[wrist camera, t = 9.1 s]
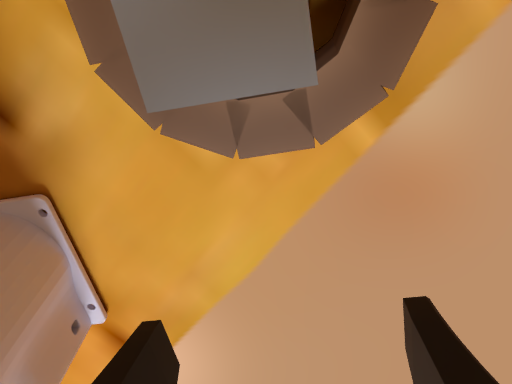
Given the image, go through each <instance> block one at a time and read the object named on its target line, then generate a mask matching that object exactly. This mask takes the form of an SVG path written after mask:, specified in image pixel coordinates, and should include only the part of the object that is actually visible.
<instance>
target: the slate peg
mask: <svg viewBox="0 0 512 384" xmlns="http://www.w3.org/2000/svg"><path fill="white" fill-rule="evenodd" d="M111 3H112V6H113V9H114V12H115V15H116V19H117V22H118V25H119V28H120V31H121V34H122V37H123V40H124V43H125V46H126V49H127V52H128V55H129V58H130V61H131V64H132V67H133V70H134V74H135V77H136V80H137V83H138V86H139V89H140V92H141V95H142V98H143V101H144V104H145V107H146V110H147V113H152V112H158V111H164V110H170V109H177V108H183V107H189V106H195V105H201V104H207V103H213V102H219V101H225V100H231V99H237V98H243V97H249V96H255V95H261V94H267V93H273V92H279V91H285V90H291V89H297V88H303V87H309V86H315V85H318V78H317V70H316V62H315V54H314V46H313V38H312V30H311V22H310V14H309V6H308V0H111Z"/></svg>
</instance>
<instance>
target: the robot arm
mask: <svg viewBox="0 0 512 384" xmlns="http://www.w3.org/2000/svg"><path fill="white" fill-rule="evenodd" d="M42 209H43V210H45V211H46V212H47V213H45V212H43V211H42ZM92 304H93V305H92ZM403 308H404V309H403V310H404V330H405V349H406V353H407V358H408V362H409V367H410V371H411V375H412V379H413V384H499V383H498V382H497V381H496V380H495V379H494V378H493V377H492V376H491V375H490V373H489V372H488V371H487V370H486V369H485V368H484V367H483V366H482V365H481V364H480V363H479V361H478V360H477V359H476V358H475V357H474V356H473V355H472V353H471V352H470V351H469V350H468V349H467V348H466V346H465V345H464V344H463V343H462V342H461V341H460V339H459V338H458V337H457V336H456V334H455V333H454V332H453V330H452V329H451V328H450V327H449V325H448V324H447V323H446V321H445V320H444V319H443V317H442V316H441V315H440V314H439V312H438V310H437V309H436V308H435V306H434V305H433V303H432V302H431V300H430V299H429V298H427V297H426V296H423V297H411V298H403ZM106 318H107V313H106V311H105V309H104V307H103V305H102V303H101V301H100V299H99V297H98V295H97V293H96V291H95V289H94V287H93V285H92V283H91V281H90V279H89V277H88V275H87V273H86V271H85V269H84V267H83V265H82V263H81V261H80V259H79V257H78V255H77V253H76V251H75V249H74V247H73V245H72V243H71V241H70V239H69V237H68V235H67V233H66V231H65V229H64V227H63V225H62V224H61V222H60V220H59V218H58V216H57V214H56V212H55V210H54V208H53V206H52V204H51V202H50V200H49V199H48V198H47V197H46V196H44V195H42V194H37V195H30V196H23V197H17V198H10V199H3V200H0V384H60V383H61V381H62V379H63V377H64V375H65V373H66V372H67V370H68V368H69V366H70V364H71V362H72V360H73V358H74V357H75V355H76V353H77V351H78V349H79V347H80V345H81V344H82V342H83V340H84V338H85V336H86V334H87V332H88V331H89V329H90V327H91V325H92V324H101V323H104V322H105V320H106ZM179 366H180V364H179V362H178V359H177V357H176V355H175V353H174V350H173V348H172V345H171V343H170V341H169V338H168V336H167V333H166V331H165V329H164V326H163V324H162V322H161V320H156V321H145V322H142V323H141V324H140V325H139V326H138V328H137V329H136V330H135V331H134V332H133V334H132V335H131V336H130V337H129V339H128V340H127V341H126V342H125V344H124V345H123V346H122V347H121V349H120V350H119V351H118V352H117V354H116V355H115V356H114V357H113V359H112V360H111V361H110V362H109V363H108V365H107V366H106V367H105V368H104V369H103V371H102V372H101V373H100V374H99V375H98V377H97V378H96V379H95V380H94V381H93V383H92V384H177V381H178V373H179Z"/></svg>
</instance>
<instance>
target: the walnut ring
mask: <svg viewBox="0 0 512 384" xmlns="http://www.w3.org/2000/svg"><path fill="white" fill-rule="evenodd" d="M65 1H66V4H67V6H68V9H69V12H70V14H71V17H72V19H73V22H74V25H75V27H76V30H77V33H78V35H79V38H80V40H81V43H82V46H83V48H84V51H85V53H86V56H87V59H88V61H89V64H90V65H92V64H97V63H101V65H100V66H99V67H98V68H97V69H96V70H95V71H94V72H95V73H96V74H97V75H98V76H99V77H100V78H101V79H102V80H103V81H104V82H105V83H106V84H108V85H109V86H110V87H111V88H112V89H113V90H114V91H115V92H116V93H117V94H118V95H119V96H120V97H121V98H122V99H123V100H124V101H125V102H126V103H127V104H128V105H129V106H130V107H131V108H132V109H133V110H134V111H135V112H136V113H137V114H138V115H139V116H140V117H141V118H142V119H143V120H144V121H145V122H146V123H147V124H148V125H149V126H150V127H151V128H152V129H153V130H155V129H157V128H158V127H159V126H160V125H161V124H162V123H163V124H162V129H161V133H160V134H162V135H165V136H168V137H171V138H174V139H176V140H179V141H182V142H185V143H188V144H191V145H194V146H197V147H200V148H203V149H206V150H209V151H212V152H215V153H218V154H221V155H224V156H227V157H230V158H233V157H234V154H235V152H236V149H237V151H238V155H239V159H244V158H250V157H257V156H263V155H270V154H277V153H283V152H290V151H296V150H303V149H310V148H315V143H314V137H315V139H316V140H317V141H318V142H319V143H320V144H321V145H322V144H323V143H325V142H326V141H328V140H329V139H330V138H332V137H333V136H334V135H336V134H337V133H339V132H340V131H341V130H343V129H344V128H345V127H347V126H348V125H350V124H351V123H352V122H354V121H355V120H356V119H358V118H359V117H360V116H362V115H363V114H365V113H366V112H367V111H369V110H370V109H371V108H373V107H374V106H376V105H377V104H378V103H380V102H381V101H382V100H384V99H385V98H387V97H388V94H387V93H386V91H385V89H384V88H383V86H384V87H386V88H389V89H392V90H394V88H395V87H396V85H397V83H398V81H399V79H400V77H401V75H402V73H403V71H404V69H405V67H406V65H407V63H408V61H409V59H410V57H411V55H412V53H413V51H414V49H415V47H416V45H417V44H418V42H419V40H420V38H421V36H422V34H423V32H424V30H425V28H426V26H427V24H428V22H429V20H430V18H431V16H432V14H433V12H434V10H435V8H436V6H437V4H438V3H436V2H433V1H431V0H348V1H347V3H346V6H345V8H344V11H343V13H342V16H341V18H340V21H339V23H338V25H337V28H336V30H335V33H334V35H333V38H332V39H331V40H330V41H329V42H327V43H326V44H325V45H324V46H323V47H322V48H320V49H319V50H318V51H317V52H316V53H314V54H315V62H316V70H317V78H318V85H315V86H309V87H303V88H297V89H291V90H285V91H279V92H273V93H267V94H261V95H255V96H249V97H243V98H237V99H231V100H225V101H219V102H213V103H207V104H201V105H195V106H189V107H183V108H177V109H170V110H164V111H158V112H152V113H147V110H146V107H145V104H144V101H143V98H142V95H141V92H140V89H139V86H138V83H137V80H136V77H135V74H134V70H133V67H132V64H131V61H130V58H129V55H128V52H127V49H126V46H125V43H124V40H123V37H122V34H121V31H120V28H119V25H118V22H117V19H116V15H115V12H114V9H113V6H112V3H111V0H65Z"/></svg>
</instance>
